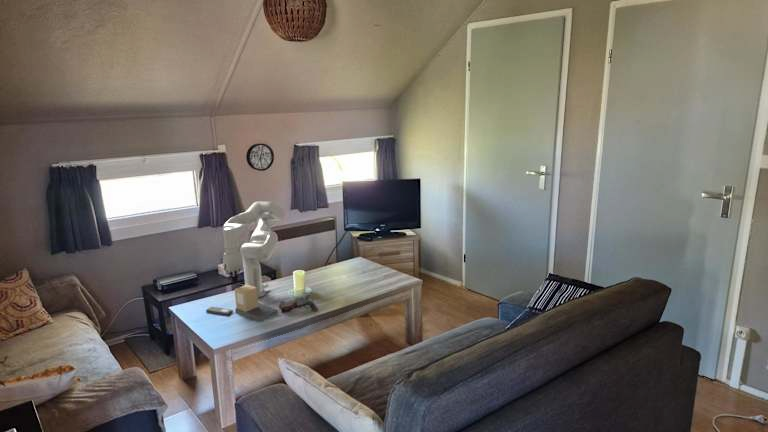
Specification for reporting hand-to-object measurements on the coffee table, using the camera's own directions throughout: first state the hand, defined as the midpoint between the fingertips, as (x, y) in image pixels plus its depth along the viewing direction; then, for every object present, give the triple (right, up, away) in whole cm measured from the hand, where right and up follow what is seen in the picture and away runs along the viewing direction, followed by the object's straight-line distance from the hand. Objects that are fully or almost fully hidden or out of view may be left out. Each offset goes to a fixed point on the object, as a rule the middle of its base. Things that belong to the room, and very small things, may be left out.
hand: (235, 282), depth 264 cm
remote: (-8, -17, -1) cm, 18 cm away
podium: (+13, -16, -3) cm, 21 cm away
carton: (+7, -13, -1) cm, 15 cm away
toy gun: (+35, -16, -1) cm, 38 cm away
